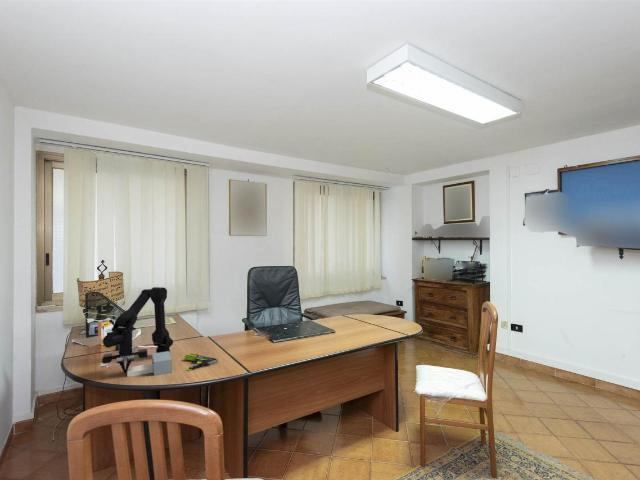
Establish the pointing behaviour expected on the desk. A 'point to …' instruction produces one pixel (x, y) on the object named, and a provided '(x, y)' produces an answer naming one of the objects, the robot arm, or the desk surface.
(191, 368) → the toy gun
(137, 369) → the tile
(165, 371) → the overhang
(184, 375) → the desk surface
